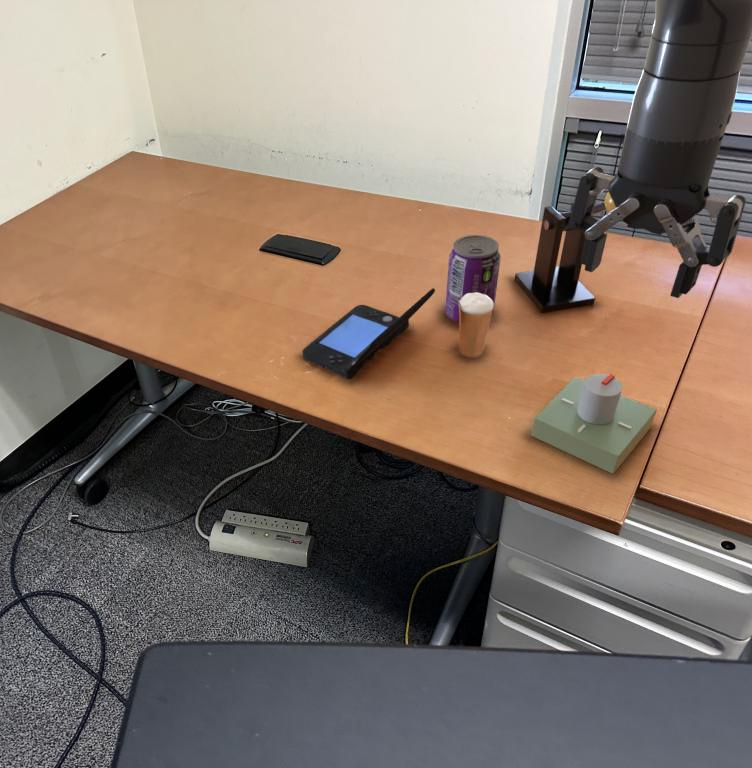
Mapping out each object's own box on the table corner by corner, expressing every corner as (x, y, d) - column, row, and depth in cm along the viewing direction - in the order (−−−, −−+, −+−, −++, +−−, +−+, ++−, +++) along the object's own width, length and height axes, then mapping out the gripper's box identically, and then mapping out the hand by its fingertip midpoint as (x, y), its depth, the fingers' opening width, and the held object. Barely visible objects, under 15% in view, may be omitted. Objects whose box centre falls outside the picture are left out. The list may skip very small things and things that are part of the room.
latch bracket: (593, 304, 103) (614, 221, 95) (541, 313, 103) (557, 230, 94) (562, 271, 111) (578, 191, 102) (514, 279, 111) (526, 200, 102)
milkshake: (443, 348, 100) (447, 290, 93) (475, 338, 101) (482, 279, 94) (460, 365, 96) (466, 306, 90) (494, 355, 97) (502, 295, 91)
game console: (359, 309, 110) (359, 260, 104) (435, 337, 102) (439, 285, 96) (298, 359, 102) (293, 308, 96) (375, 393, 94) (375, 340, 88)
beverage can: (495, 327, 102) (505, 257, 94) (445, 328, 103) (451, 258, 96) (490, 301, 107) (499, 232, 100) (443, 302, 109) (448, 233, 101)
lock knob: (603, 429, 80) (612, 398, 77) (570, 414, 82) (577, 383, 79) (620, 412, 81) (630, 381, 78) (588, 397, 84) (596, 367, 81)
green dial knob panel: (650, 427, 83) (657, 408, 81) (612, 474, 78) (619, 455, 76) (570, 394, 89) (574, 375, 87) (530, 435, 85) (534, 417, 83)
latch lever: (645, 209, 84) (641, 179, 84) (616, 214, 84) (612, 184, 84) (575, 233, 101) (571, 209, 101) (551, 237, 101) (547, 213, 101)
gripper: (575, 123, 63) (548, 276, 73) (753, 152, 54) (693, 321, 64) (614, 97, 66) (582, 247, 76) (786, 120, 57) (725, 286, 68)
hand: (633, 280), depth 70 cm, fingers open, 8 cm apart
